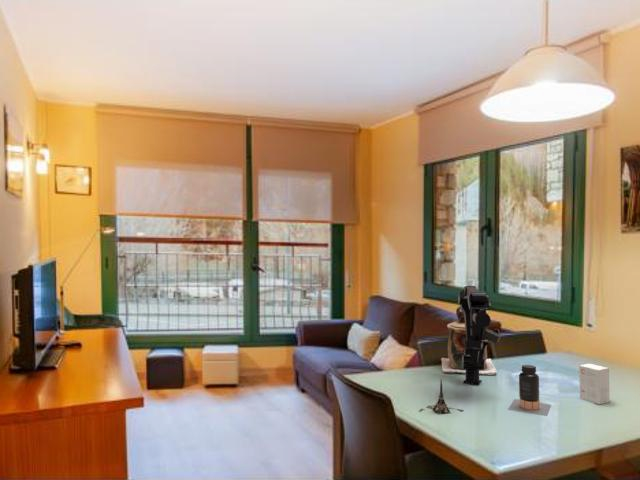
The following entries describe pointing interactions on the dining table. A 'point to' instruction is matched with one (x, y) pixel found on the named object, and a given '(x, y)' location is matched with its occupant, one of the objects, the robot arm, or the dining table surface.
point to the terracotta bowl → (530, 404)
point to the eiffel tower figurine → (440, 404)
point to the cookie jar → (461, 348)
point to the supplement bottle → (529, 383)
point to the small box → (594, 383)
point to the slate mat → (542, 411)
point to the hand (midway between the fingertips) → (478, 361)
